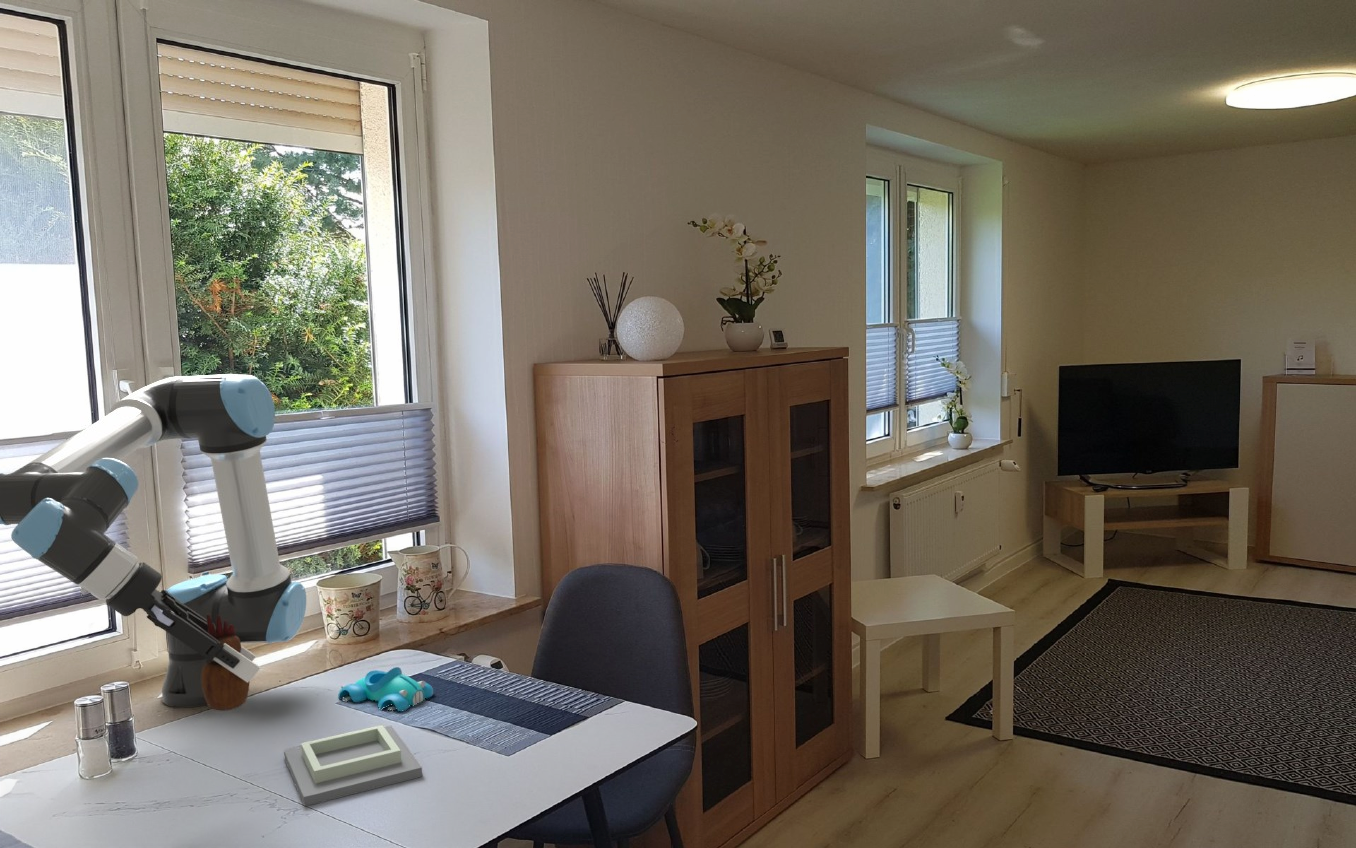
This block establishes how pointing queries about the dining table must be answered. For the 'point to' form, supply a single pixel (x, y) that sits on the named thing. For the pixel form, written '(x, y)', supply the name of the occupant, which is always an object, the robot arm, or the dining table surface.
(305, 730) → the dining table surface
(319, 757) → the jig plate
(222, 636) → the wooden figurine
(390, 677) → the toy car
